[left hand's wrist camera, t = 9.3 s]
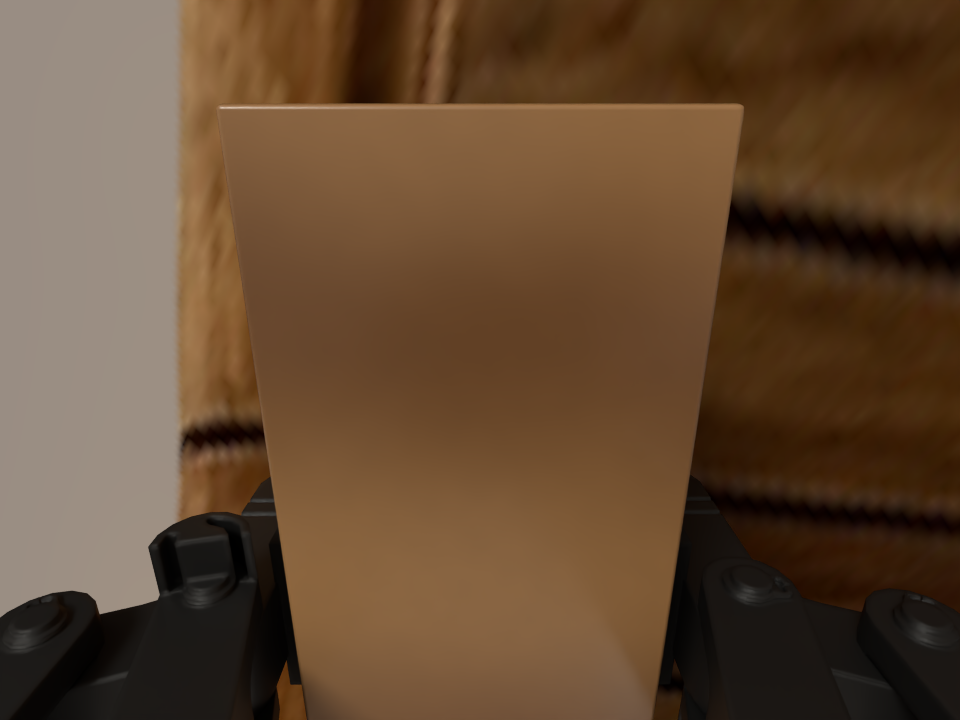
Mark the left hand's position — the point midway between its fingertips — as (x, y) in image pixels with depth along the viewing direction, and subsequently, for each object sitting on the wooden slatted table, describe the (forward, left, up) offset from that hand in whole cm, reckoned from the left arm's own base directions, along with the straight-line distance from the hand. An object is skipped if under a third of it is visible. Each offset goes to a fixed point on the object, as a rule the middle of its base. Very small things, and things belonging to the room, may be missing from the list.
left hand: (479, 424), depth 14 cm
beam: (-2, +24, -1) cm, 24 cm away
